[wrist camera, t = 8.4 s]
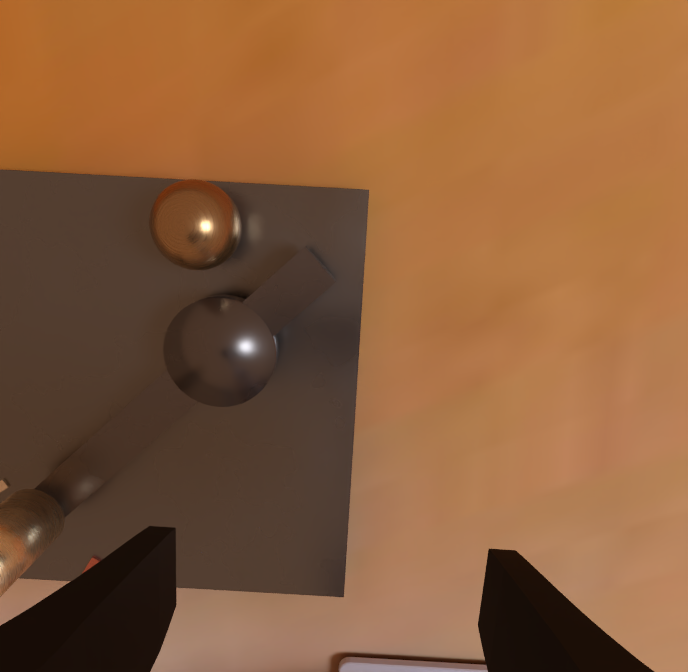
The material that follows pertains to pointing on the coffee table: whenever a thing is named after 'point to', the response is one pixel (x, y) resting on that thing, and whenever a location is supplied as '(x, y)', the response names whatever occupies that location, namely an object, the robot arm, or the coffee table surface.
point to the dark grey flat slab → (148, 364)
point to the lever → (167, 400)
